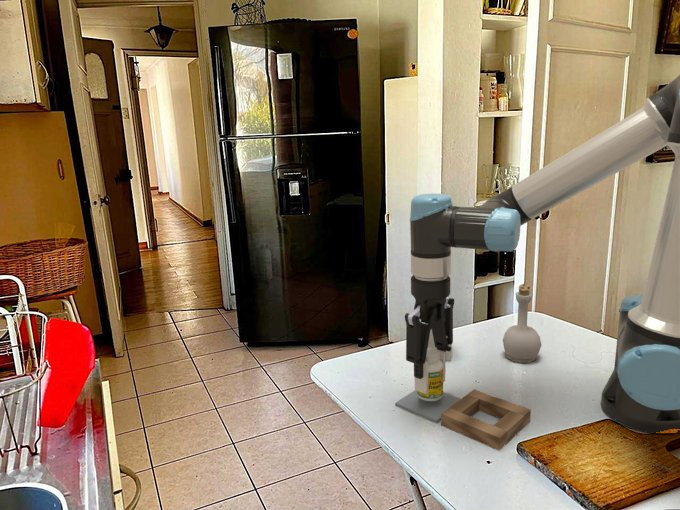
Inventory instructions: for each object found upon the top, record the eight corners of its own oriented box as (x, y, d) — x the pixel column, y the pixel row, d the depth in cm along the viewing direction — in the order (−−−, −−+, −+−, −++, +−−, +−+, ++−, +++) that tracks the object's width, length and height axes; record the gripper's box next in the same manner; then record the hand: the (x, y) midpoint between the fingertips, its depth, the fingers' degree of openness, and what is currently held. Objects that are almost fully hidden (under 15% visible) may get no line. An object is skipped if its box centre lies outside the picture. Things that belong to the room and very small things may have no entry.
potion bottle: (543, 353, 128) (547, 282, 123) (534, 367, 121) (539, 293, 116) (507, 346, 132) (510, 277, 128) (496, 359, 125) (499, 288, 121)
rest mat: (464, 402, 107) (464, 399, 107) (436, 423, 100) (436, 420, 100) (423, 386, 114) (423, 384, 114) (395, 405, 107) (395, 402, 107)
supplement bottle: (430, 386, 110) (430, 344, 108) (448, 396, 106) (449, 352, 104) (410, 394, 108) (410, 351, 105) (428, 405, 103) (429, 360, 101)
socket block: (530, 421, 100) (530, 409, 99) (499, 450, 91) (499, 438, 91) (473, 400, 108) (474, 389, 107) (440, 425, 100) (441, 413, 99)
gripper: (440, 262, 109) (440, 364, 115) (384, 283, 97) (387, 397, 102) (472, 267, 104) (470, 374, 110) (418, 291, 91) (418, 410, 97)
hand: (430, 385), depth 106 cm, fingers closed on supplement bottle, 5 cm apart
